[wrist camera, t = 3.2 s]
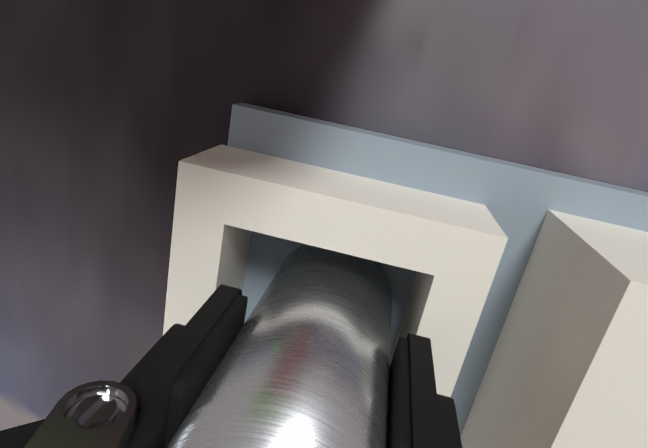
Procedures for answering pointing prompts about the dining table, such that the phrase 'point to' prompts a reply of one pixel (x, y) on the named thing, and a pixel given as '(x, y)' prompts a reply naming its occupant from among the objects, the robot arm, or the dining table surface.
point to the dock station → (441, 266)
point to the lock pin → (304, 362)
